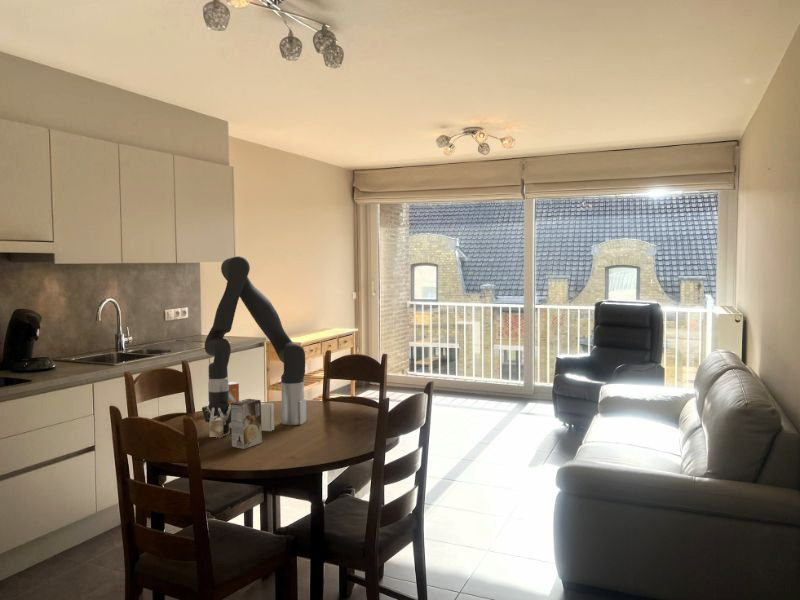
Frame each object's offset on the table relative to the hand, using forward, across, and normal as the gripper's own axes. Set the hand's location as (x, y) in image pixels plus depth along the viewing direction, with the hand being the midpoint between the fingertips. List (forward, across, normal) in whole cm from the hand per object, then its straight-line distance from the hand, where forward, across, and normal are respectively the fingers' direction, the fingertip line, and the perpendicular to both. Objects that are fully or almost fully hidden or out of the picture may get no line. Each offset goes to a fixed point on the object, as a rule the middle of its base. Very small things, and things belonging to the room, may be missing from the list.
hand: (219, 433), depth 238 cm
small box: (+1, +18, -38) cm, 42 cm away
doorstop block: (+1, 0, 0) cm, 1 cm away
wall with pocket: (+1, -12, -11) cm, 17 cm away
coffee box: (+1, -17, +10) cm, 20 cm away
